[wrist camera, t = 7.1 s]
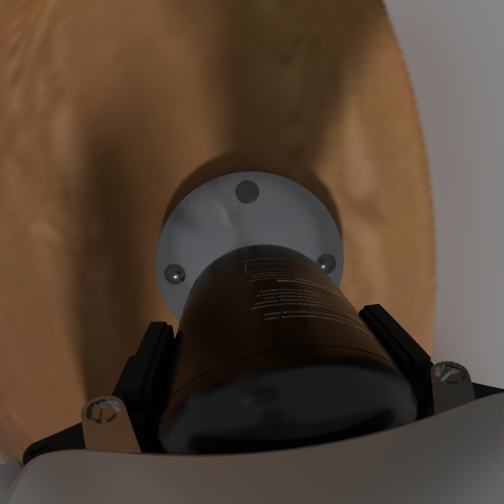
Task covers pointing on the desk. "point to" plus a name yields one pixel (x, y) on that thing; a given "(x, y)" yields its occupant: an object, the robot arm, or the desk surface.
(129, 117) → the desk surface
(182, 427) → the supplement bottle
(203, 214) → the flange disc
